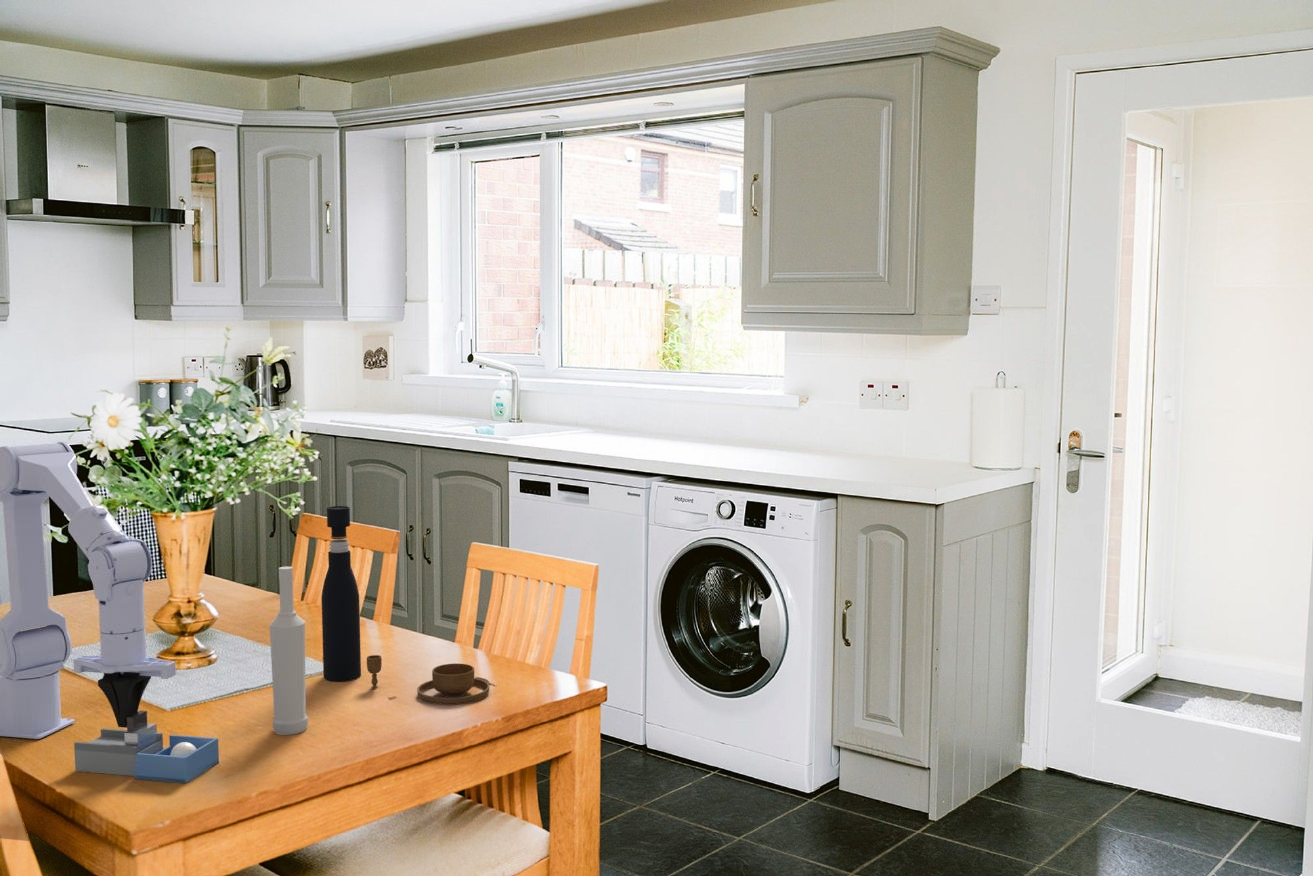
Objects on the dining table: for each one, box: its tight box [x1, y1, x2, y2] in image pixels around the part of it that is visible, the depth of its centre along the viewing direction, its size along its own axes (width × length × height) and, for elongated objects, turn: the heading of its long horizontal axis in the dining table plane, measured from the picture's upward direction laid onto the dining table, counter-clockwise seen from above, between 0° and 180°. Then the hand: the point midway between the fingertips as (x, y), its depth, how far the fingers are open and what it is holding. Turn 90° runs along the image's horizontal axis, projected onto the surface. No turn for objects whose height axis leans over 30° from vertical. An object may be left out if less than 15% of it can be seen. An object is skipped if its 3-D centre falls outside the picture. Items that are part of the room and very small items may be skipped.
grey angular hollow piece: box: [124, 710, 158, 751], centre depth 162 cm, size 2×4×4 cm, turn 168°
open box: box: [133, 734, 220, 784], centre depth 162 cm, size 8×8×4 cm
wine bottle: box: [321, 505, 362, 683], centre depth 204 cm, size 6×6×30 cm
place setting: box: [366, 654, 496, 706], centre depth 198 cm, size 18×20×6 cm
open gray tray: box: [73, 728, 164, 777], centre depth 163 cm, size 10×6×4 cm, turn 78°
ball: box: [170, 742, 196, 757], centre depth 161 cm, size 4×4×4 cm
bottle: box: [269, 566, 309, 736], centre depth 177 cm, size 5×5×25 cm
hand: (126, 725), depth 163 cm, fingers closed
